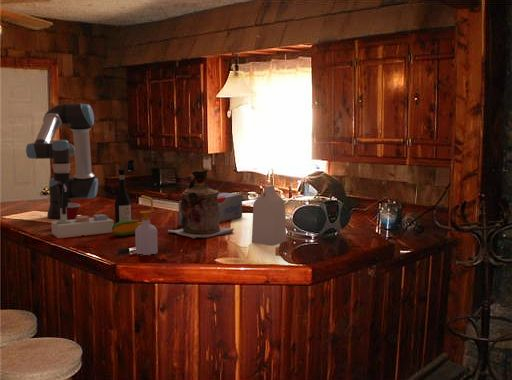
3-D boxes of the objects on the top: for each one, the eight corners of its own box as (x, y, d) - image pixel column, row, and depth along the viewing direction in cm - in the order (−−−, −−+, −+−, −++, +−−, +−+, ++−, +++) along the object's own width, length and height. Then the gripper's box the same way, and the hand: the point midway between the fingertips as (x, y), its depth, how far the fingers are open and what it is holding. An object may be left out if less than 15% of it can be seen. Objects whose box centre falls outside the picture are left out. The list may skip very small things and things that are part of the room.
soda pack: (225, 215, 334) (225, 191, 332) (243, 217, 326) (243, 193, 324) (177, 225, 301) (177, 199, 299) (195, 228, 293) (195, 202, 292)
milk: (273, 245, 253) (273, 188, 249) (251, 242, 259) (251, 186, 255) (286, 241, 263) (286, 185, 259) (265, 238, 269) (265, 183, 265)
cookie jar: (204, 226, 298) (203, 165, 294) (235, 233, 281) (235, 168, 277) (165, 233, 281) (164, 168, 277) (196, 240, 264) (196, 172, 260)
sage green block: (57, 230, 276) (57, 220, 276) (68, 229, 279) (67, 219, 278) (60, 232, 272) (59, 222, 271) (71, 231, 275) (70, 221, 274)
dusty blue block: (94, 224, 286) (93, 215, 285) (104, 223, 288) (103, 214, 288) (97, 226, 281) (96, 216, 281) (107, 225, 284) (107, 215, 283)
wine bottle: (134, 225, 299) (132, 169, 295) (121, 228, 293) (119, 170, 289) (125, 223, 304) (123, 168, 300) (112, 226, 298) (110, 169, 295)
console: (51, 233, 279) (51, 220, 278) (105, 227, 293) (105, 215, 292) (58, 238, 268) (57, 225, 267) (113, 232, 282) (113, 219, 281)
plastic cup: (74, 228, 290) (73, 205, 289) (55, 228, 293) (54, 205, 291) (85, 225, 301) (84, 202, 299) (66, 224, 303) (65, 202, 302)
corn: (108, 220, 272) (144, 215, 286) (108, 235, 274) (144, 230, 287) (115, 223, 267) (152, 218, 280) (115, 239, 268) (152, 233, 282)
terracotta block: (76, 226, 281) (75, 216, 280) (86, 225, 284) (86, 215, 283) (78, 228, 277) (78, 218, 276) (89, 227, 279) (89, 217, 279)
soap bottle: (137, 251, 243) (135, 194, 239) (158, 250, 243) (157, 194, 240) (134, 256, 234) (132, 197, 231) (156, 255, 234) (155, 196, 231)
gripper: (50, 171, 275) (52, 219, 278) (56, 173, 264) (59, 223, 267) (66, 170, 279) (68, 217, 282) (73, 173, 268) (75, 221, 271)
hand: (63, 220), depth 275 cm, fingers closed
